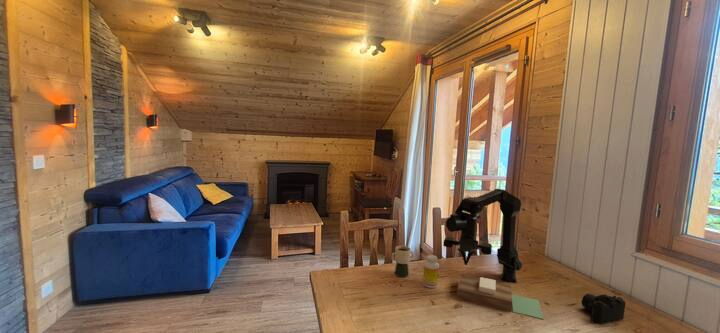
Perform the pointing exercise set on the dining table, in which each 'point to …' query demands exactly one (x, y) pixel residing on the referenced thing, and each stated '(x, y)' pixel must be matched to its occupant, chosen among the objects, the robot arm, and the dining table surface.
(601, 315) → the film camera
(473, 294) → the deck
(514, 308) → the mat
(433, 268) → the supplement bottle
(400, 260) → the character mug
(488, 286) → the white rectangular block
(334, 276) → the dining table surface
